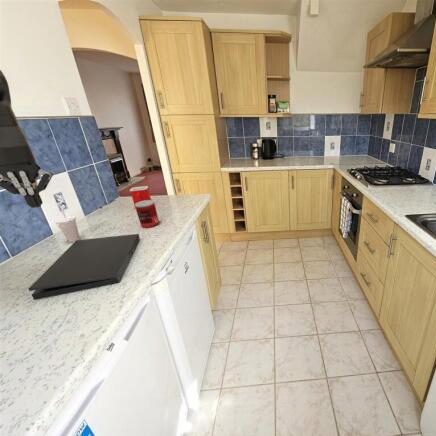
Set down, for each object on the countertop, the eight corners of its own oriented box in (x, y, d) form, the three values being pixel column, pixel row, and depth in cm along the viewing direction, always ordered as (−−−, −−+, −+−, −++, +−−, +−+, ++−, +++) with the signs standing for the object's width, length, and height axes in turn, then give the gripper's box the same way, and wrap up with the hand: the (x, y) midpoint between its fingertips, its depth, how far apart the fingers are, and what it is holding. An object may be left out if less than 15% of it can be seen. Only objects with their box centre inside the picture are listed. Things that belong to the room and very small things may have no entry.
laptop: (34, 299, 69) (30, 294, 68) (79, 249, 95) (78, 244, 94) (119, 282, 75) (117, 277, 74) (140, 239, 101) (138, 235, 100)
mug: (137, 205, 140) (132, 187, 136) (153, 203, 143) (148, 185, 138) (133, 212, 130) (127, 193, 126) (150, 210, 132) (145, 191, 128)
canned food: (156, 220, 119) (151, 198, 115) (161, 224, 114) (156, 202, 109) (139, 224, 115) (132, 202, 110) (143, 230, 109) (136, 207, 105)
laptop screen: (29, 291, 67) (28, 288, 67) (77, 242, 93) (76, 240, 93) (117, 278, 74) (116, 275, 74) (139, 235, 100) (138, 233, 100)
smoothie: (70, 245, 98) (56, 213, 92) (60, 242, 100) (46, 211, 94) (87, 237, 103) (75, 207, 98) (77, 235, 106) (65, 205, 100)
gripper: (47, 142, 69) (70, 200, 75) (-14, 144, 65) (16, 205, 71) (31, 144, 62) (58, 208, 69) (-38, 147, 58) (-3, 214, 65)
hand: (36, 206), depth 70 cm, fingers closed
